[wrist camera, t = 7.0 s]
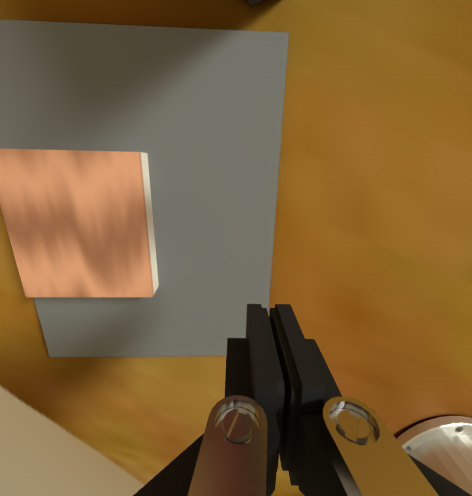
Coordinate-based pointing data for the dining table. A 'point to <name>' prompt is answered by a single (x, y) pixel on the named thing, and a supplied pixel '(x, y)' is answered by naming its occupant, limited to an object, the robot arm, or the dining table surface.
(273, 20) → the dining table surface
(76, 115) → the mat
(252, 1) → the grey and red box
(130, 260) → the tile
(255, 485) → the robot arm
